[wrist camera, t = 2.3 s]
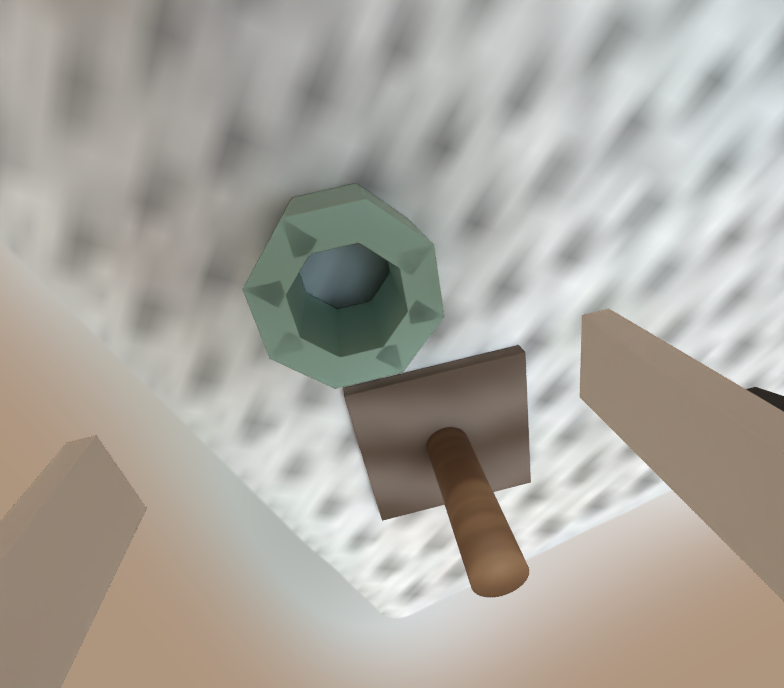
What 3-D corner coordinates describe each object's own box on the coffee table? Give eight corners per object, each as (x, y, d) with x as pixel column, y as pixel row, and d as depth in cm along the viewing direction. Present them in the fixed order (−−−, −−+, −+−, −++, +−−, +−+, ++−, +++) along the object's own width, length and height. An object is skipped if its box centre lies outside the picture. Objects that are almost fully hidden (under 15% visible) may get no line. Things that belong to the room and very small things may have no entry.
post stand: (343, 387, 27) (353, 530, 17) (518, 345, 27) (624, 460, 18) (380, 510, 33) (403, 669, 23) (525, 473, 33) (608, 613, 23)
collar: (246, 207, 21) (220, 231, 16) (400, 173, 21) (425, 185, 16) (294, 344, 25) (286, 400, 20) (424, 313, 25) (450, 360, 20)
